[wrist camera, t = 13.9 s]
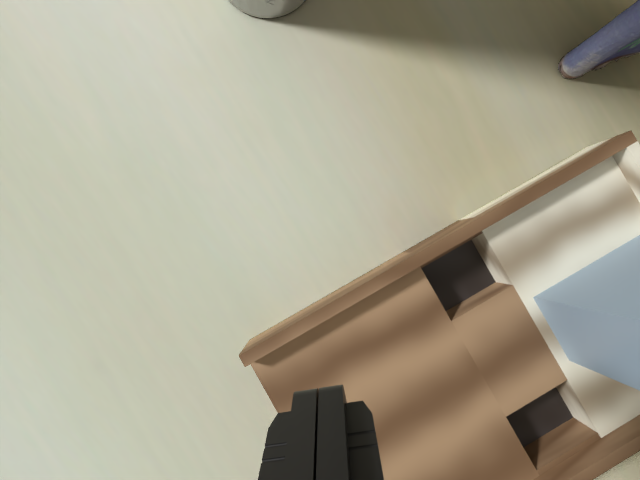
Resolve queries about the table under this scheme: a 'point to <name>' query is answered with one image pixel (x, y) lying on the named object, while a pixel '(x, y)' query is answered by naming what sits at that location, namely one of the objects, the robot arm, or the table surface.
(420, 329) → the board
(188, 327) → the table surface
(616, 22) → the flask
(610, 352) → the block
